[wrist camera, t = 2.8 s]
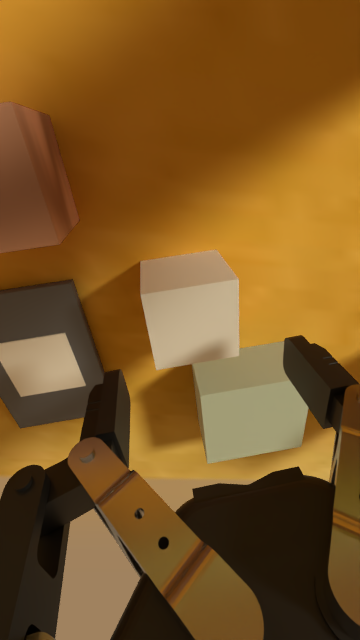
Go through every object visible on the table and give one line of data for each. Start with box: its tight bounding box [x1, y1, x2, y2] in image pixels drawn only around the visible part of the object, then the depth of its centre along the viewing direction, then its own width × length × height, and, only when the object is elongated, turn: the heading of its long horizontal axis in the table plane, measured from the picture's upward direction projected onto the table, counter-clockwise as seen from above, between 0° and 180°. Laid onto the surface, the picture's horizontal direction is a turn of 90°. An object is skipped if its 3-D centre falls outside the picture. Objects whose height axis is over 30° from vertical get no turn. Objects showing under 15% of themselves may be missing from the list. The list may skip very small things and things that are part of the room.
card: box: [0, 279, 104, 428], centre depth 21 cm, size 12×8×1 cm, turn 7°
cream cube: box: [140, 250, 239, 370], centre depth 18 cm, size 5×5×5 cm
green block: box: [192, 341, 308, 464], centre depth 23 cm, size 8×8×4 cm
